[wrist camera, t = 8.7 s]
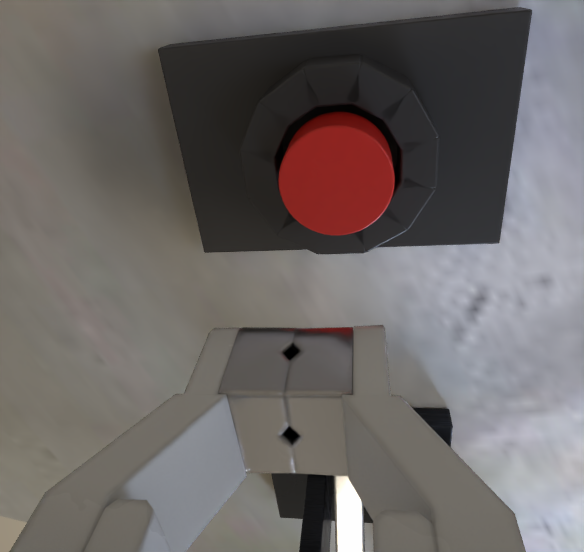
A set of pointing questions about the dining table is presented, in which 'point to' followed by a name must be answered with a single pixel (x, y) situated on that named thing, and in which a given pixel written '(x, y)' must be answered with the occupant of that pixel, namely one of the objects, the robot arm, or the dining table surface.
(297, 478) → the lever bracket
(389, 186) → the button
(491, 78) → the button housing
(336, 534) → the toast lever
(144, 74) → the dining table surface
